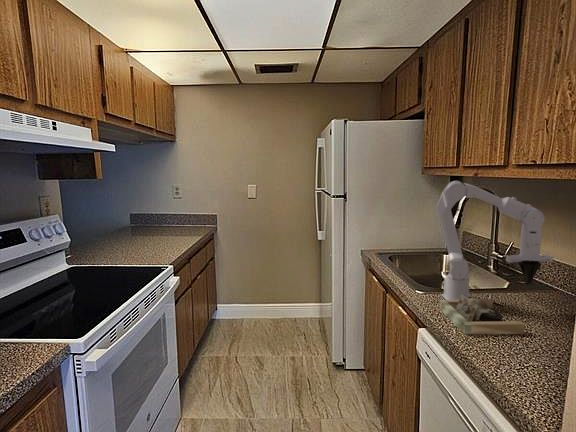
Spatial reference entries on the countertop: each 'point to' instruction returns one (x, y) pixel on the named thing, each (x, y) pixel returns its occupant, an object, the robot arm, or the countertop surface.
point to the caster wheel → (477, 310)
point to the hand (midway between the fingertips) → (527, 282)
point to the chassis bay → (479, 327)
